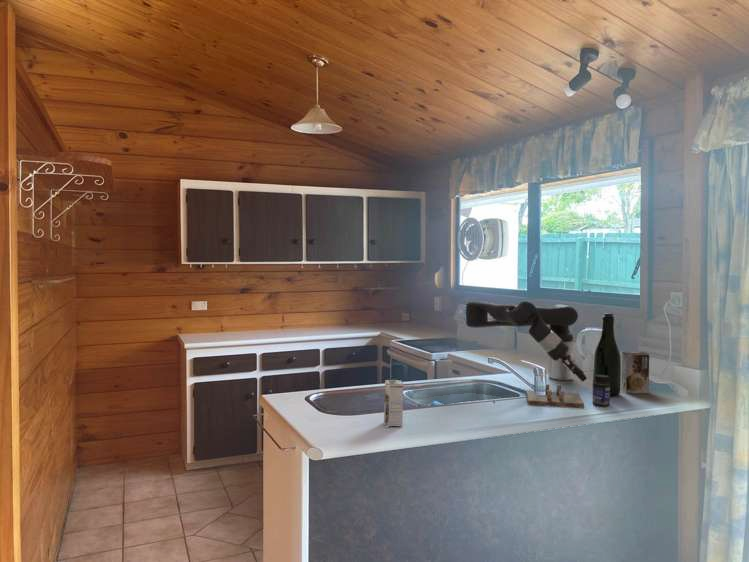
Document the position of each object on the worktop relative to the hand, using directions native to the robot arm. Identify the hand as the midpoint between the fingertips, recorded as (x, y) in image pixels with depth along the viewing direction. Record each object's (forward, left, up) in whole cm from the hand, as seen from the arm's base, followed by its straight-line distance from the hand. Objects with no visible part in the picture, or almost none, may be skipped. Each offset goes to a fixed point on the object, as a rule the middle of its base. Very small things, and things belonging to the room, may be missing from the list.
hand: (583, 377), depth 223 cm
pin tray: (-10, -3, -10) cm, 15 cm away
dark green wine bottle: (-1, +22, -11) cm, 24 cm away
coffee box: (+5, +35, -11) cm, 37 cm away
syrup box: (-30, -71, -11) cm, 78 cm away
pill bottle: (+5, +5, -11) cm, 13 cm away
